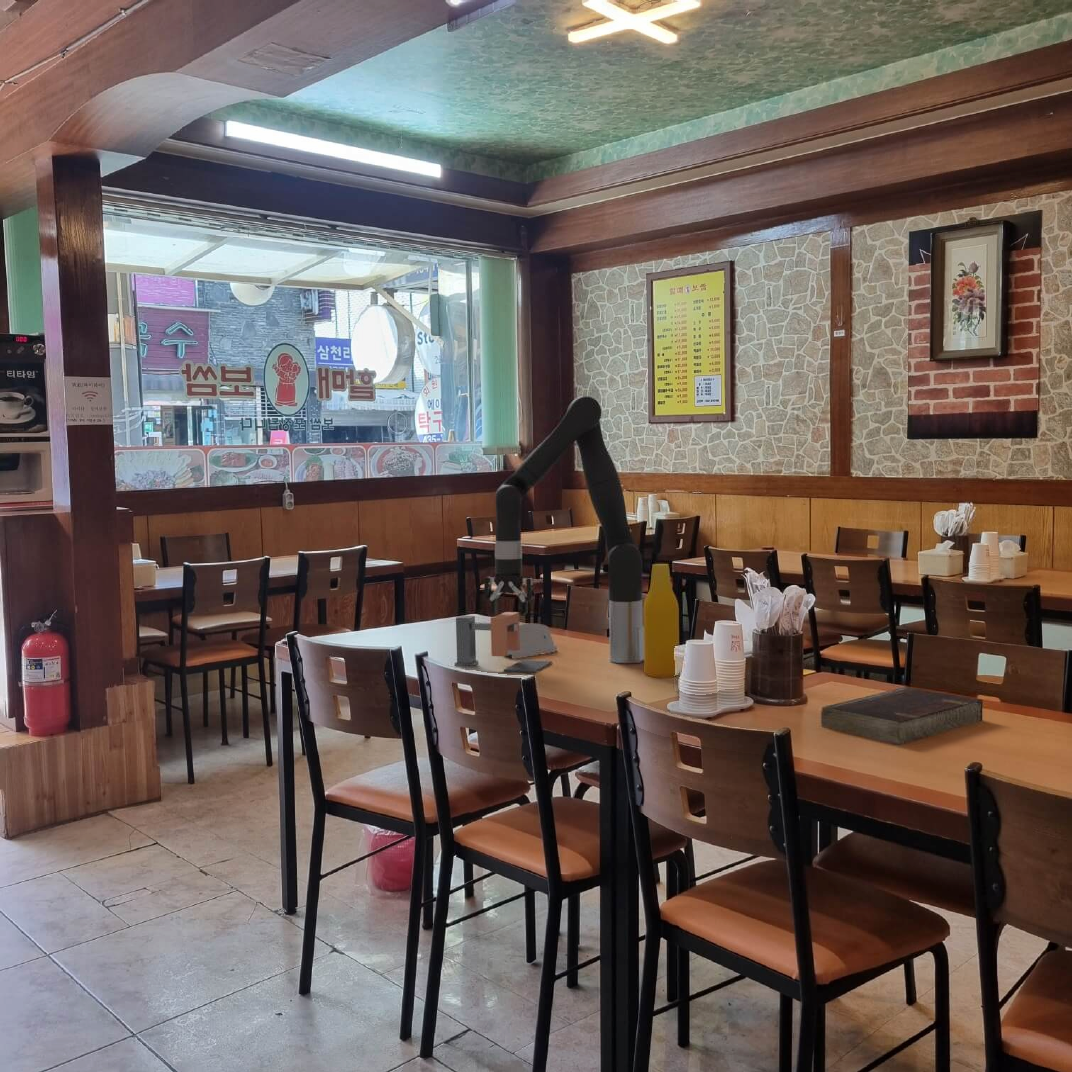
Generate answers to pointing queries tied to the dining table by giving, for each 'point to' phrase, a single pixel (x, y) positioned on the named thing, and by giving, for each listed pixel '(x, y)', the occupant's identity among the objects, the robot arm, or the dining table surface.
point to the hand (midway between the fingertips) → (509, 614)
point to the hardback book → (902, 715)
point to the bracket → (470, 639)
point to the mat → (527, 666)
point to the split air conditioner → (533, 641)
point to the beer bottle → (660, 625)
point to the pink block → (504, 634)
